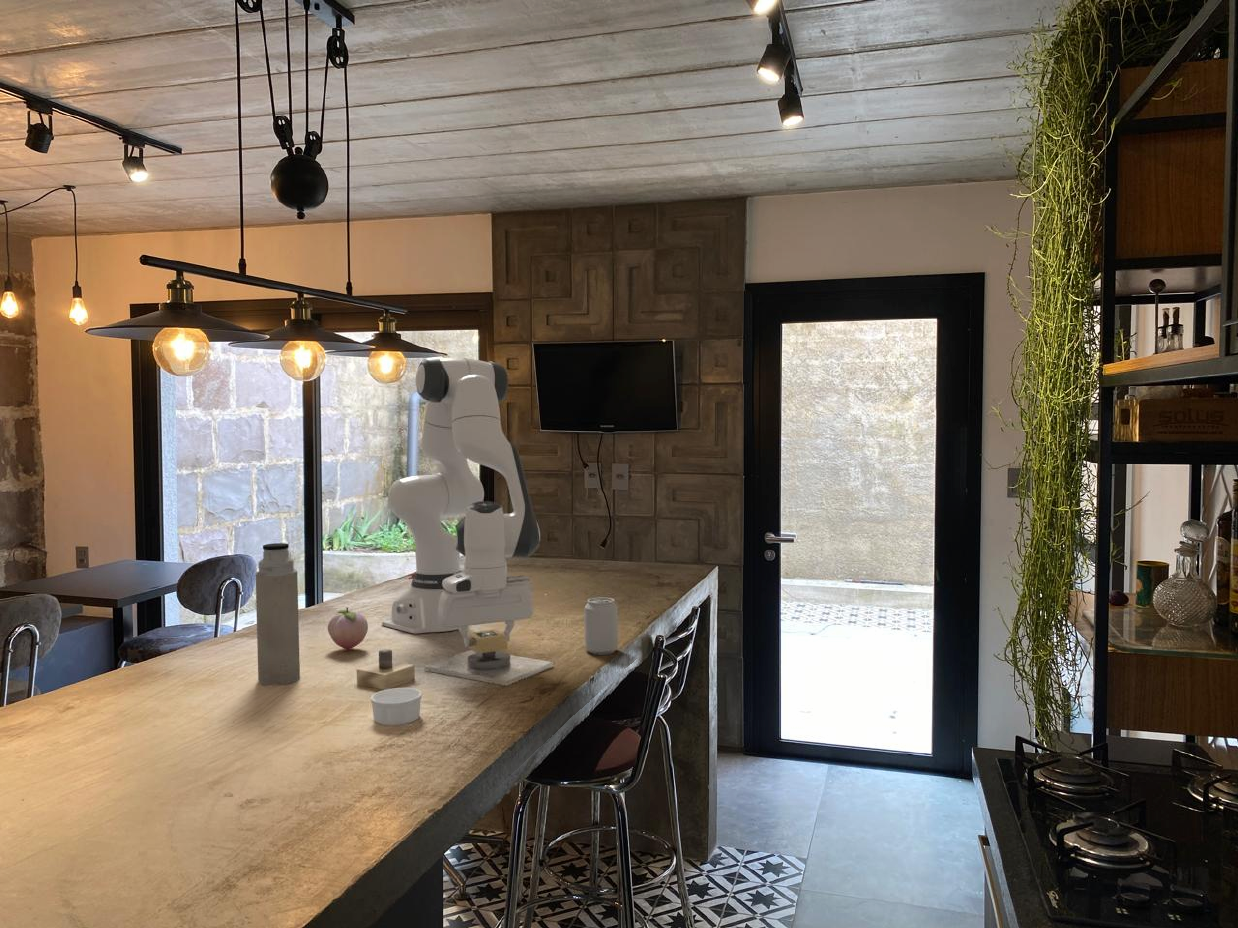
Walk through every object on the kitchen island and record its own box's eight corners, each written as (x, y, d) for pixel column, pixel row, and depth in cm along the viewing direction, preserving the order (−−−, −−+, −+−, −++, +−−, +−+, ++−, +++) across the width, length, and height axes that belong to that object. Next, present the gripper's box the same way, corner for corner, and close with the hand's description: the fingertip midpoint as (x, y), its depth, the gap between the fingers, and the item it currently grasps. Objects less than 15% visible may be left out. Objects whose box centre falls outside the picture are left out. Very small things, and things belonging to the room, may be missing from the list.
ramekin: (396, 730, 154) (395, 705, 154) (360, 721, 159) (359, 697, 159) (432, 715, 162) (432, 692, 162) (397, 707, 167) (396, 684, 166)
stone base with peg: (424, 670, 191) (423, 635, 190) (473, 653, 204) (473, 620, 204) (506, 685, 179) (506, 648, 179) (553, 666, 193) (552, 632, 193)
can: (614, 656, 201) (613, 603, 200) (581, 654, 203) (581, 601, 202) (620, 647, 208) (620, 596, 208) (589, 646, 210) (588, 595, 209)
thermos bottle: (276, 672, 189) (273, 540, 188) (308, 676, 187) (305, 542, 185) (249, 683, 182) (245, 545, 180) (282, 687, 179) (278, 547, 178)
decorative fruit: (376, 649, 208) (375, 606, 207) (343, 656, 202) (342, 612, 201) (354, 643, 214) (353, 601, 214) (322, 649, 208) (321, 606, 208)
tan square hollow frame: (467, 646, 193) (466, 632, 192) (496, 642, 196) (496, 629, 195) (477, 653, 187) (476, 639, 187) (507, 649, 190) (507, 635, 190)
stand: (356, 683, 181) (356, 652, 181) (386, 673, 188) (385, 644, 188) (385, 689, 177) (385, 658, 177) (414, 679, 184) (414, 649, 184)
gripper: (526, 572, 198) (527, 634, 199) (434, 581, 189) (436, 646, 189) (537, 576, 192) (538, 640, 193) (443, 585, 183) (445, 653, 184)
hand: (486, 643), depth 191 cm, fingers closed on tan square hollow frame, 7 cm apart
